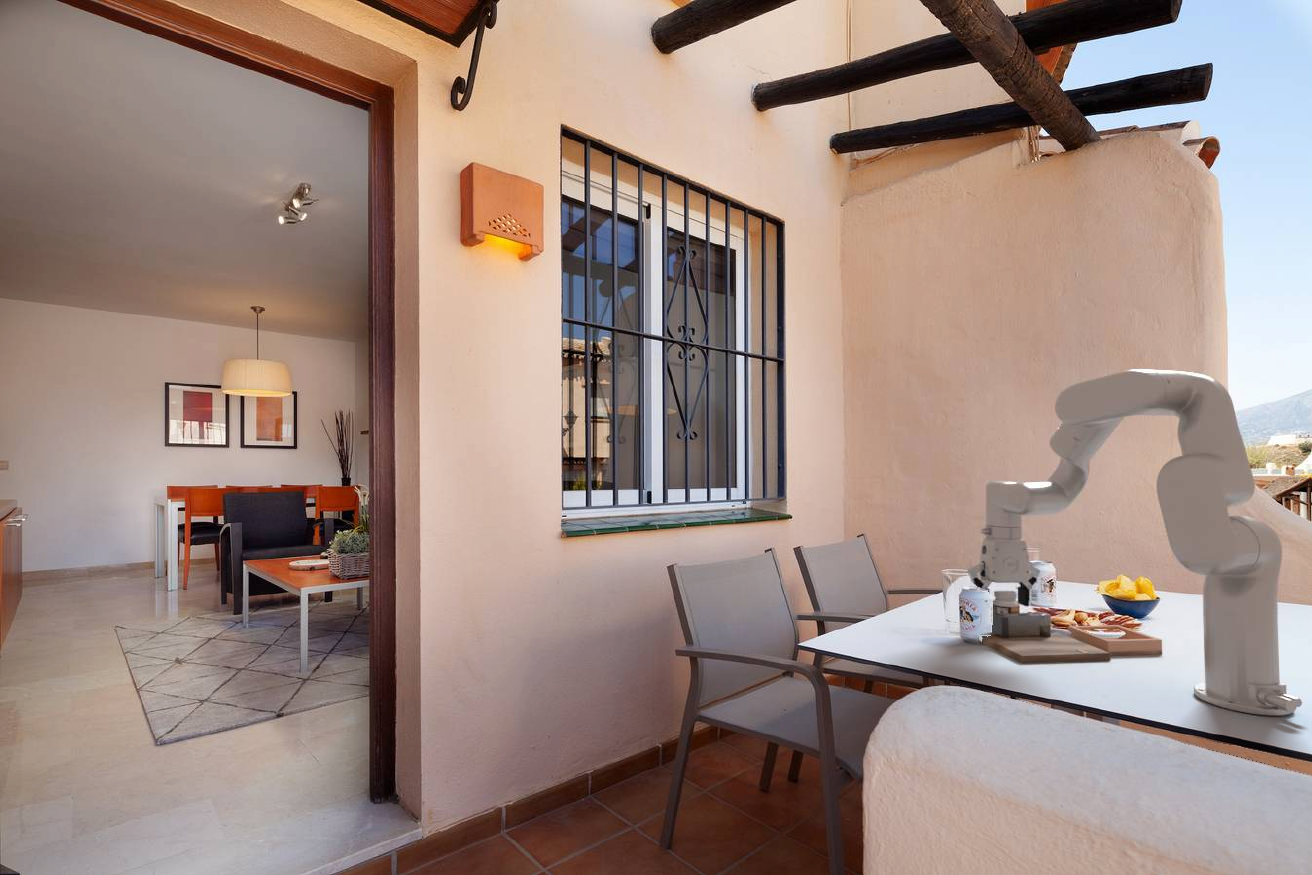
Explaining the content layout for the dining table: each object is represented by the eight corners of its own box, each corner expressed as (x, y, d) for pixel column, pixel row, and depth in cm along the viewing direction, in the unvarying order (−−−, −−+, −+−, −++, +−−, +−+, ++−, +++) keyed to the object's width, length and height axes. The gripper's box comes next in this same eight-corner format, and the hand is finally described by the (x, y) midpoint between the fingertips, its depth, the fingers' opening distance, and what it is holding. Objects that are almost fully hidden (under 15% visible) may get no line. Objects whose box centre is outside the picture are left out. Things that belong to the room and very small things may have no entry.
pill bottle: (1018, 638, 149) (1017, 595, 150) (990, 634, 153) (989, 592, 153) (1021, 632, 154) (1020, 590, 154) (995, 629, 157) (994, 587, 158)
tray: (1162, 653, 137) (1161, 639, 137) (1108, 655, 136) (1108, 641, 136) (1118, 638, 149) (1117, 624, 149) (1068, 639, 148) (1068, 626, 148)
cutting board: (1110, 660, 133) (1110, 652, 133) (1021, 663, 132) (1021, 655, 132) (1058, 639, 149) (1058, 631, 149) (978, 641, 147) (978, 634, 147)
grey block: (1042, 631, 149) (1042, 611, 149) (1056, 636, 145) (1055, 616, 145) (990, 632, 148) (989, 612, 148) (1001, 637, 144) (1001, 617, 144)
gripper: (977, 535, 150) (977, 609, 150) (1048, 535, 151) (1049, 608, 151) (960, 531, 157) (960, 601, 157) (1028, 530, 159) (1028, 600, 158)
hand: (1003, 605), depth 154 cm, fingers open, 9 cm apart
